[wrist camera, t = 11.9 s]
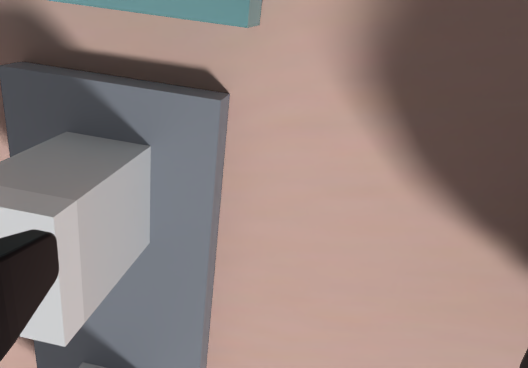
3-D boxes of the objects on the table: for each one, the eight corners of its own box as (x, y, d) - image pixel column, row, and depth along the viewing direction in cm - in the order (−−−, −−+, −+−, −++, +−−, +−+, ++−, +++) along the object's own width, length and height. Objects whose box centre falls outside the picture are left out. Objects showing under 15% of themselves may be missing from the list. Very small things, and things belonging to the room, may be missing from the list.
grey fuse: (150, 145, 19) (53, 217, 12) (149, 242, 21) (65, 346, 14) (66, 131, 19) (-70, 193, 13) (73, 227, 21) (-42, 322, 15)
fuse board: (229, 93, 19) (221, 100, 18) (199, 451, 28) (191, 473, 27) (22, 61, 20) (-2, 65, 19) (59, 416, 30) (45, 436, 28)
